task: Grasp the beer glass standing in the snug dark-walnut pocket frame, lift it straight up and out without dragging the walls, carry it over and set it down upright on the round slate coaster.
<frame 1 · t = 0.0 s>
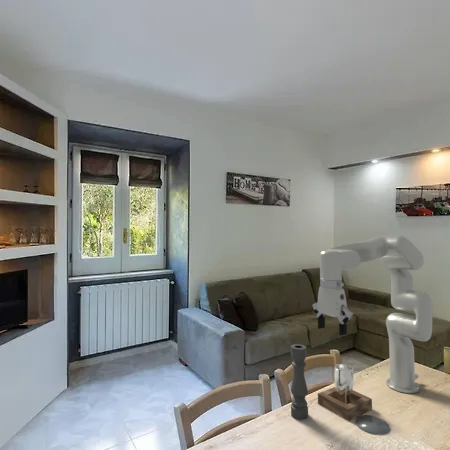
hand: (331, 331, 117), 31 cm above the table, fingers open, 9 cm apart
coaster: (372, 424, 111), on the table
candle holder: (299, 415, 118), on the table
pocket frame: (344, 406, 123), on the table
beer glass: (344, 407, 123), resting in pocket frame
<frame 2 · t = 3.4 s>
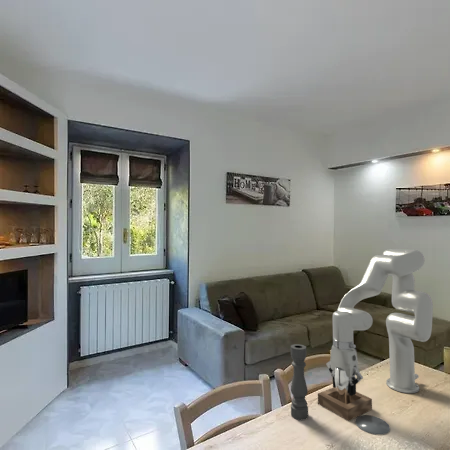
hand: (344, 390, 124), 6 cm above the table, fingers closed on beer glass, 6 cm apart
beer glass: (344, 407, 123), resting in pocket frame, touching gripper
everything else where it was.
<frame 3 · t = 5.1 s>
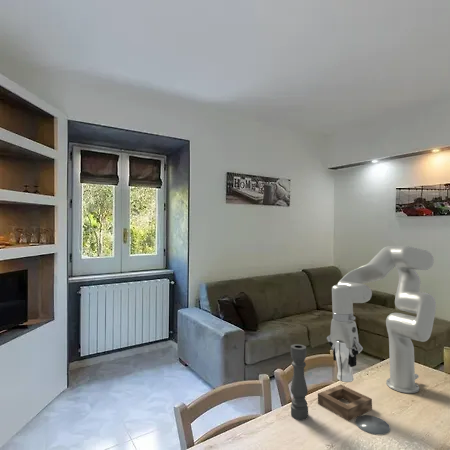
hand: (344, 362, 124), 17 cm above the table, fingers closed on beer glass, 6 cm apart
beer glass: (345, 379, 124), point 10 cm above the table, touching gripper
everything else where it was.
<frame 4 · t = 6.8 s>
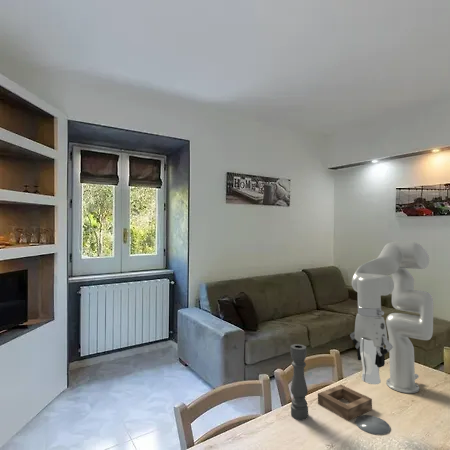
hand: (370, 362, 112), 21 cm above the table, fingers closed on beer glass, 6 cm apart
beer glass: (371, 381, 112), point 15 cm above the table, touching gripper
everything else where it was.
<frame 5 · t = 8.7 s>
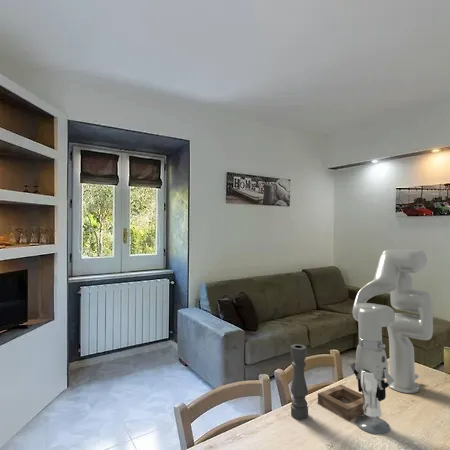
hand: (371, 394, 112), 10 cm above the table, fingers closed on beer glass, 6 cm apart
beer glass: (371, 413, 111), point 4 cm above the table, touching gripper
everything else where it was.
when the fingers open (8 cm above the table, at t = 10.3 s): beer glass stays where it is, resting on coaster.
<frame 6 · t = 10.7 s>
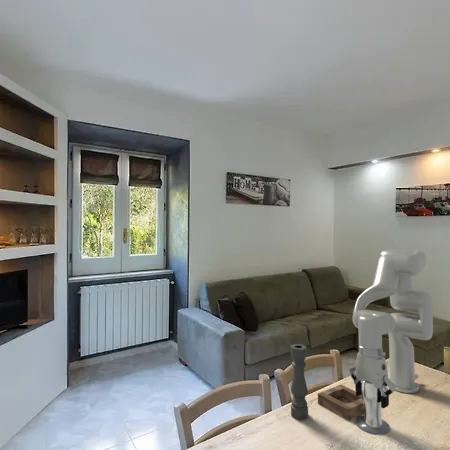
hand: (371, 400, 112), 8 cm above the table, fingers open, 9 cm apart
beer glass: (372, 424, 111), resting on coaster
everything else where it was.
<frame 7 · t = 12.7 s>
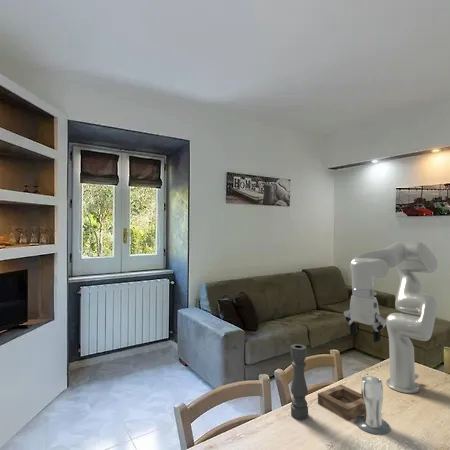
hand: (364, 337, 122), 27 cm above the table, fingers open, 9 cm apart
nothing on the table moved.
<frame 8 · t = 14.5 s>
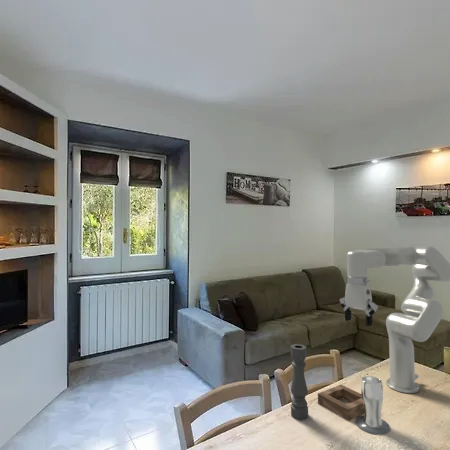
hand: (358, 322, 131), 30 cm above the table, fingers open, 9 cm apart
nothing on the table moved.
at the end: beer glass 0.2 cm from the coaster (horizontally); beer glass tilted 0°; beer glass resting on coaster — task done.
